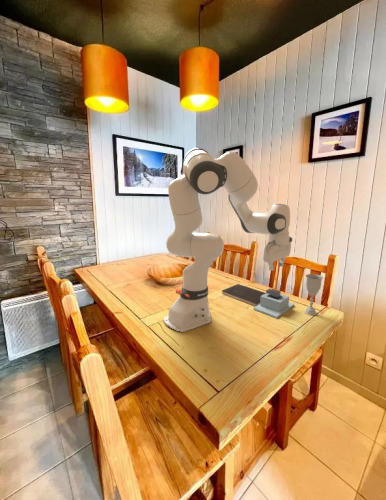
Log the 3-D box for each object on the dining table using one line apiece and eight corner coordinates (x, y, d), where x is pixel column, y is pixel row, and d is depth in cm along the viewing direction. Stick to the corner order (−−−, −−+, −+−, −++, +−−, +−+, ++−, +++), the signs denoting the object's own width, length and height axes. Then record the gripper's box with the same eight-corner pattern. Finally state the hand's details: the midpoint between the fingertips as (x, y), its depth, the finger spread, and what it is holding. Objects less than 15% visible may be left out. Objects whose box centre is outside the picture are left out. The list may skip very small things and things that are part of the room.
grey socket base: (276, 318, 102) (277, 306, 101) (253, 309, 110) (254, 298, 109) (294, 305, 114) (295, 294, 113) (271, 298, 122) (272, 288, 121)
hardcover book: (255, 307, 113) (256, 303, 113) (221, 294, 130) (221, 290, 130) (272, 298, 124) (272, 294, 123) (238, 287, 141) (238, 283, 140)
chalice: (312, 317, 102) (316, 280, 98) (298, 311, 108) (302, 275, 104) (322, 314, 105) (326, 277, 101) (309, 308, 111) (312, 273, 107)
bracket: (276, 308, 109) (277, 292, 108) (265, 304, 114) (266, 289, 112) (279, 306, 111) (280, 290, 110) (268, 302, 116) (269, 287, 114)
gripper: (274, 243, 96) (271, 274, 99) (294, 237, 110) (291, 265, 113) (260, 241, 100) (259, 271, 103) (281, 236, 114) (279, 263, 117)
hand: (276, 268), depth 108 cm, fingers open, 8 cm apart
